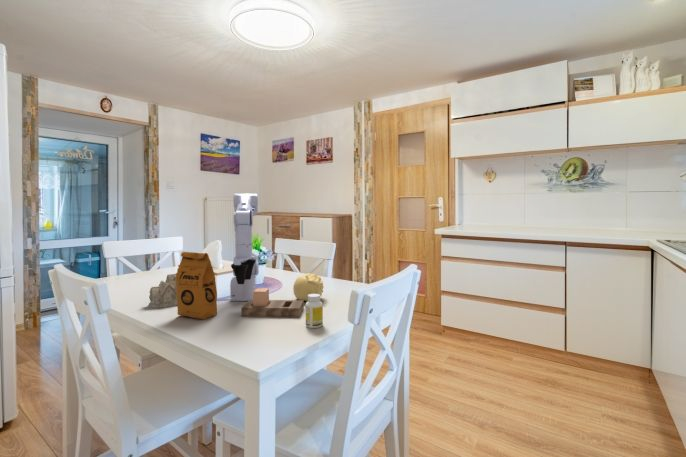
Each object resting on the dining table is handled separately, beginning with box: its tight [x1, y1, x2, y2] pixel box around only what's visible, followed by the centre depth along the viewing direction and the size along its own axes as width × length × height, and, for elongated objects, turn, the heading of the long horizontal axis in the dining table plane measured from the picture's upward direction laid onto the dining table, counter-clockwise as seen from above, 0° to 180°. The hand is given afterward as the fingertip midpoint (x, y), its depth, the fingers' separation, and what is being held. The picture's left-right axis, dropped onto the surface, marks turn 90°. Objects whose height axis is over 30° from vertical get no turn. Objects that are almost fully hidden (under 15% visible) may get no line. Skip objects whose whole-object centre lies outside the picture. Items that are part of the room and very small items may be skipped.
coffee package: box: [175, 251, 218, 320], centre depth 121 cm, size 10×12×22 cm
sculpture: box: [292, 272, 324, 302], centre depth 142 cm, size 12×12×11 cm
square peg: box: [253, 287, 270, 306], centre depth 126 cm, size 4×4×8 cm
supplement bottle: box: [305, 294, 324, 329], centre depth 112 cm, size 5×5×10 cm
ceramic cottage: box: [148, 268, 178, 309], centre depth 138 cm, size 16×16×15 cm
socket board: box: [240, 299, 305, 318], centre depth 126 cm, size 20×10×3 cm, turn 88°
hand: (244, 281), depth 127 cm, fingers open, 7 cm apart
